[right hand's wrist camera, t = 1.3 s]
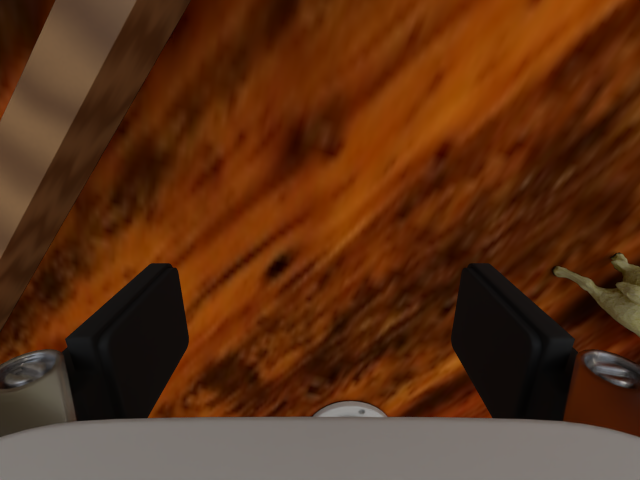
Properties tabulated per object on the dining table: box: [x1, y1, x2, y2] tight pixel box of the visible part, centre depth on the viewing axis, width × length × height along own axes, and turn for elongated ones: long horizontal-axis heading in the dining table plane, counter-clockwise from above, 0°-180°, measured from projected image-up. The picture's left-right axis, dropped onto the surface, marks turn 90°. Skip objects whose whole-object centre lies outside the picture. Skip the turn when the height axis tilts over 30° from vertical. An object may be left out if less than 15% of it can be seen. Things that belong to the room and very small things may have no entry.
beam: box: [0, 0, 191, 331], centre depth 32 cm, size 59×4×7 cm, turn 141°
